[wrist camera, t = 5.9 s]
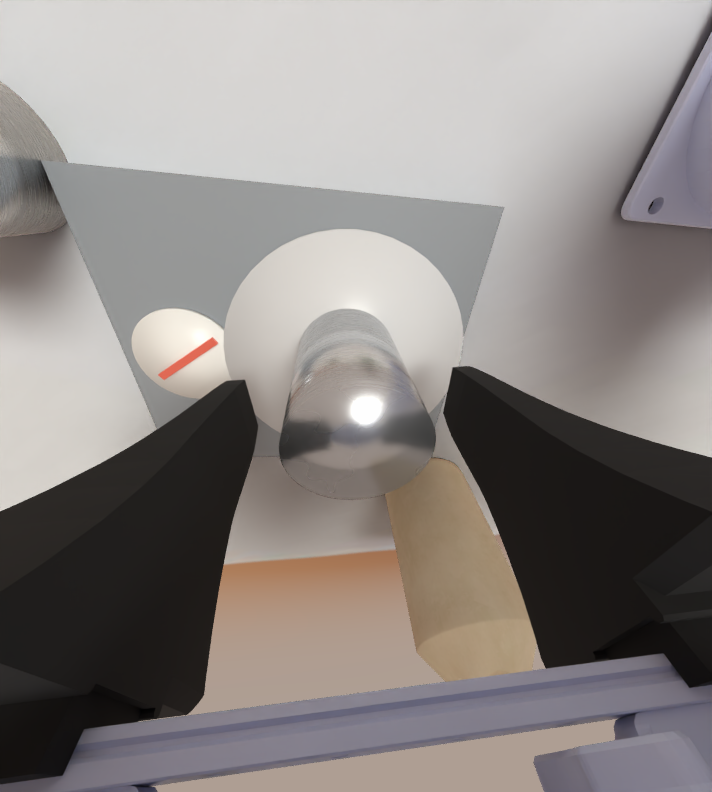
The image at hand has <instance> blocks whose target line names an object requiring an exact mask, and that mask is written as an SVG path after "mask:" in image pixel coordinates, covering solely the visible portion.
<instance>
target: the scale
mask: <svg viewBox="0 0 712 792" xmlns="http://www.w3.org/2000/svg"><path fill="white" fill-rule="evenodd" d="M41 162H42V164H43V167H44V169H45V171H46V174H47V176H48V178H49V181H50V183H51V185H52V188H53V190H54V192H55V194H56V197H57V199H58V201H59V204H60V206H61V208H62V211H63V213H64V215H65V218H66V220H67V222H68V225H69V227H70V229H71V231H72V234H73V236H74V238H75V241H76V243H77V245H78V248H79V250H80V252H81V255H82V257H83V259H84V261H85V264H86V266H87V268H88V271H89V273H90V275H91V278H92V280H93V282H94V285H95V287H96V289H97V291H98V294H99V296H100V298H101V301H102V303H103V305H104V308H105V310H106V312H107V315H108V317H109V319H110V321H111V324H112V326H113V328H114V331H115V333H116V335H117V338H118V340H119V342H120V345H121V347H122V349H123V352H124V354H125V356H126V358H127V361H128V363H129V365H130V368H131V370H132V372H133V375H134V377H135V379H136V382H137V384H138V386H139V388H140V391H141V393H142V395H143V398H144V400H145V402H146V405H147V407H148V409H149V412H150V414H151V416H152V418H153V421H154V423H155V425H156V428H157V429H159V428H160V427H162V426H163V425H165V424H166V423H167V422H169V421H170V420H172V419H173V418H175V417H176V416H178V415H179V414H181V413H182V412H183V411H185V410H186V409H187V408H189V407H190V406H191V405H193V404H194V403H196V402H197V401H198V400H200V399H201V398H202V397H204V396H205V395H206V394H208V393H209V392H210V391H212V390H213V389H215V388H216V387H217V386H219V385H220V384H222V383H224V382H225V381H230V380H245V381H246V385H247V388H248V392H249V395H250V399H251V402H252V405H253V409H254V412H255V416H256V419H257V423H258V432H257V438H256V444H255V450H254V453H253V457H277V456H280V454H279V441H280V436H281V431H282V426H283V421H284V416H285V411H286V406H287V402H288V397H289V392H290V387H291V382H292V377H293V372H294V368H295V363H296V358H297V353H298V348H299V343H300V340H301V337H302V335H303V333H304V331H305V330H306V329H307V327H308V326H309V325H310V324H311V323H312V322H313V321H314V320H315V319H316V318H318V317H319V316H321V315H323V314H325V313H327V312H330V311H333V310H337V309H358V310H361V311H365V312H367V313H369V314H371V315H373V316H375V317H376V318H377V319H379V320H380V321H381V322H382V323H383V324H384V325H385V327H386V328H387V330H388V331H389V333H390V335H391V337H392V339H393V341H394V343H395V345H396V348H397V350H398V352H399V354H400V356H401V358H402V360H403V362H404V364H405V366H406V368H407V370H408V372H409V374H410V376H411V378H412V381H413V383H414V385H415V387H416V389H417V391H418V393H419V395H420V397H421V399H422V401H423V403H424V405H425V407H426V409H427V411H428V414H429V416H430V418H431V420H432V422H433V425H434V428H435V425H436V422H437V419H438V416H439V413H440V409H441V406H442V403H443V400H444V397H445V394H446V393H447V391H448V387H449V382H450V378H451V373H452V368H453V367H459V363H460V359H461V355H462V347H463V336H464V333H465V330H466V327H467V324H468V321H469V317H470V314H471V311H472V308H473V305H474V302H475V298H476V295H477V292H478V289H479V286H480V283H481V279H482V276H483V273H484V270H485V267H486V263H487V260H488V257H489V254H490V251H491V248H492V244H493V241H494V238H495V235H496V232H497V229H498V225H499V222H500V219H501V216H502V213H503V210H504V207H498V206H489V205H479V204H469V203H459V202H449V201H439V200H429V199H419V198H410V197H400V196H390V195H380V194H370V193H360V192H350V191H340V190H330V189H321V188H311V187H301V186H291V185H281V184H271V183H261V182H251V181H242V180H232V179H222V178H212V177H202V176H192V175H182V174H172V173H162V172H153V171H143V170H133V169H123V168H113V167H103V166H93V165H83V164H74V163H64V162H54V161H44V160H41Z"/></svg>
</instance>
